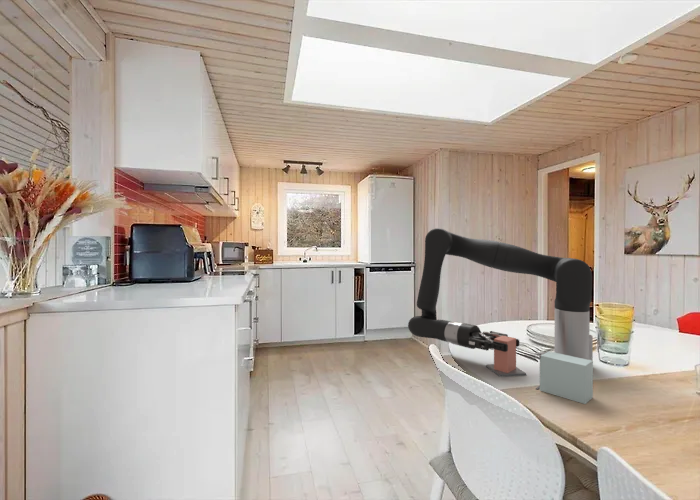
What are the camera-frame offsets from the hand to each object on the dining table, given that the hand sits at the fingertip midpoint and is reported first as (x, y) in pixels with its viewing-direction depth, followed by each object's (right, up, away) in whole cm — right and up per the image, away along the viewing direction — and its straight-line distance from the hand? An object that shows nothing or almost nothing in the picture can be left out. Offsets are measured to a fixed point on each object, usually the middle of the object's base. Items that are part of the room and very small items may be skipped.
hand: (513, 345), depth 99 cm
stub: (-2, -7, +2) cm, 8 cm away
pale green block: (+6, -8, -14) cm, 17 cm away
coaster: (-1, -8, +2) cm, 8 cm away
